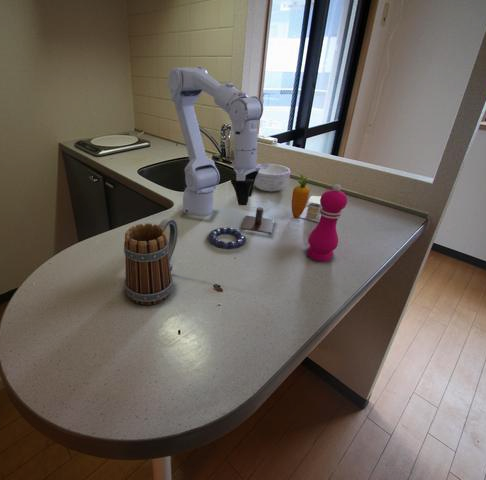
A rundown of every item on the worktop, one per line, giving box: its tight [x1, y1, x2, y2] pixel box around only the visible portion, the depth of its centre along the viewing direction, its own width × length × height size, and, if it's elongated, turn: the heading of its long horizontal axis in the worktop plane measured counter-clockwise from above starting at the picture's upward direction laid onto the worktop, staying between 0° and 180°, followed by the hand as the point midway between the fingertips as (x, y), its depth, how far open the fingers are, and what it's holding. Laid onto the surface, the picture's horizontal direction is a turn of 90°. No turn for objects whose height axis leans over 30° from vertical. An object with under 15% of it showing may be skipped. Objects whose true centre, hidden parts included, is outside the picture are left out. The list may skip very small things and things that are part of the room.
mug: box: [123, 217, 179, 306], centre depth 69 cm, size 16×11×15 cm
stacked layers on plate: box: [299, 195, 322, 223], centre depth 105 cm, size 10×9×6 cm
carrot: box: [291, 173, 311, 220], centre depth 99 cm, size 5×5×15 cm
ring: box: [207, 227, 247, 250], centre depth 89 cm, size 11×11×2 cm
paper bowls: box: [254, 163, 291, 192], centre depth 125 cm, size 15×15×8 cm
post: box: [240, 206, 275, 234], centre depth 96 cm, size 9×9×6 cm
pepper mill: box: [306, 183, 348, 263], centre depth 80 cm, size 7×7×20 cm
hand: (245, 200), depth 86 cm, fingers open, 7 cm apart
